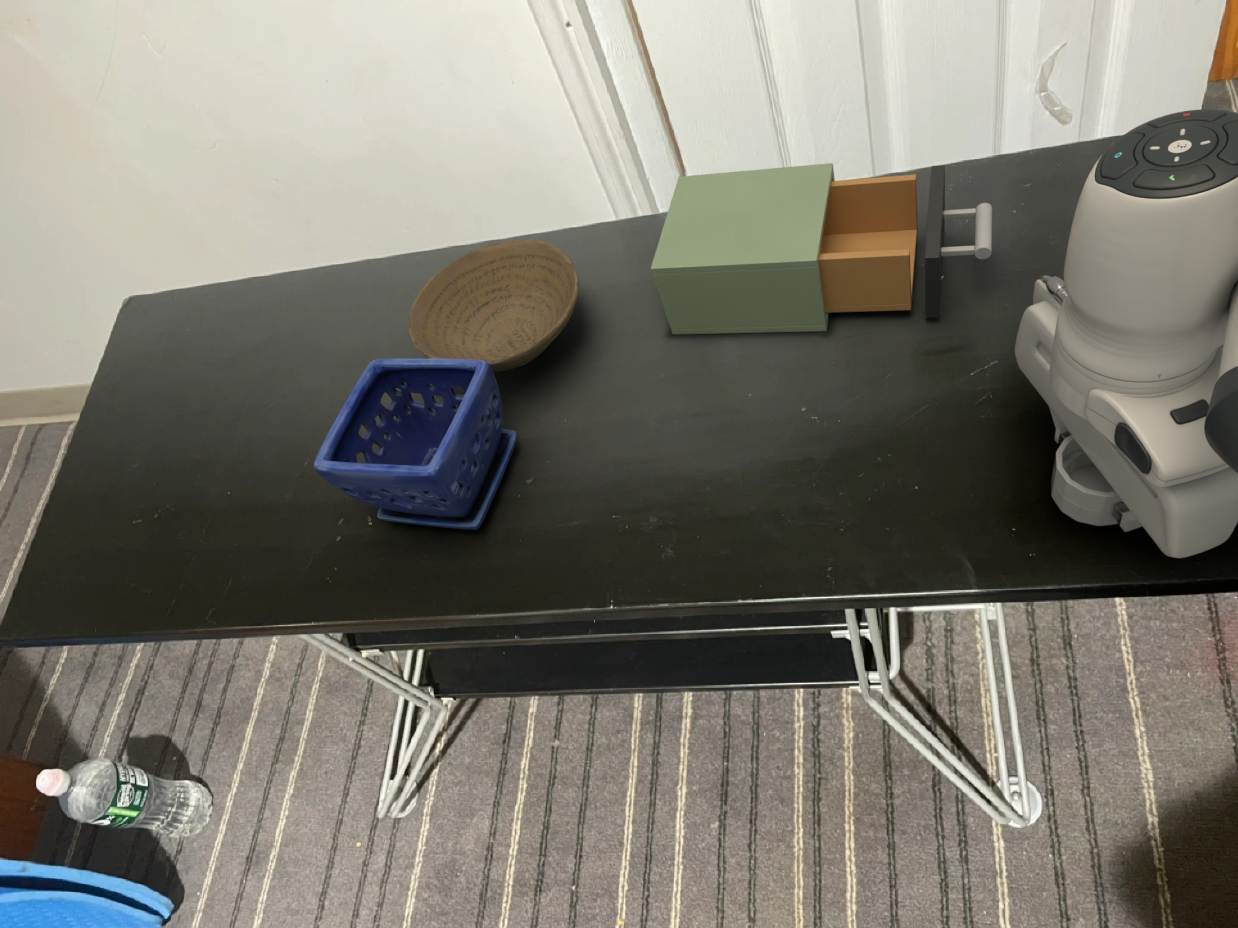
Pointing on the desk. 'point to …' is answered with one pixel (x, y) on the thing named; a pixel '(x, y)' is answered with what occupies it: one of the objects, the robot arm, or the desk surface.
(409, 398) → the flower pot
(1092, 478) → the steel bowl
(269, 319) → the desk surface
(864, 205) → the drawer
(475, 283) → the bowl
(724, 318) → the cabinet
